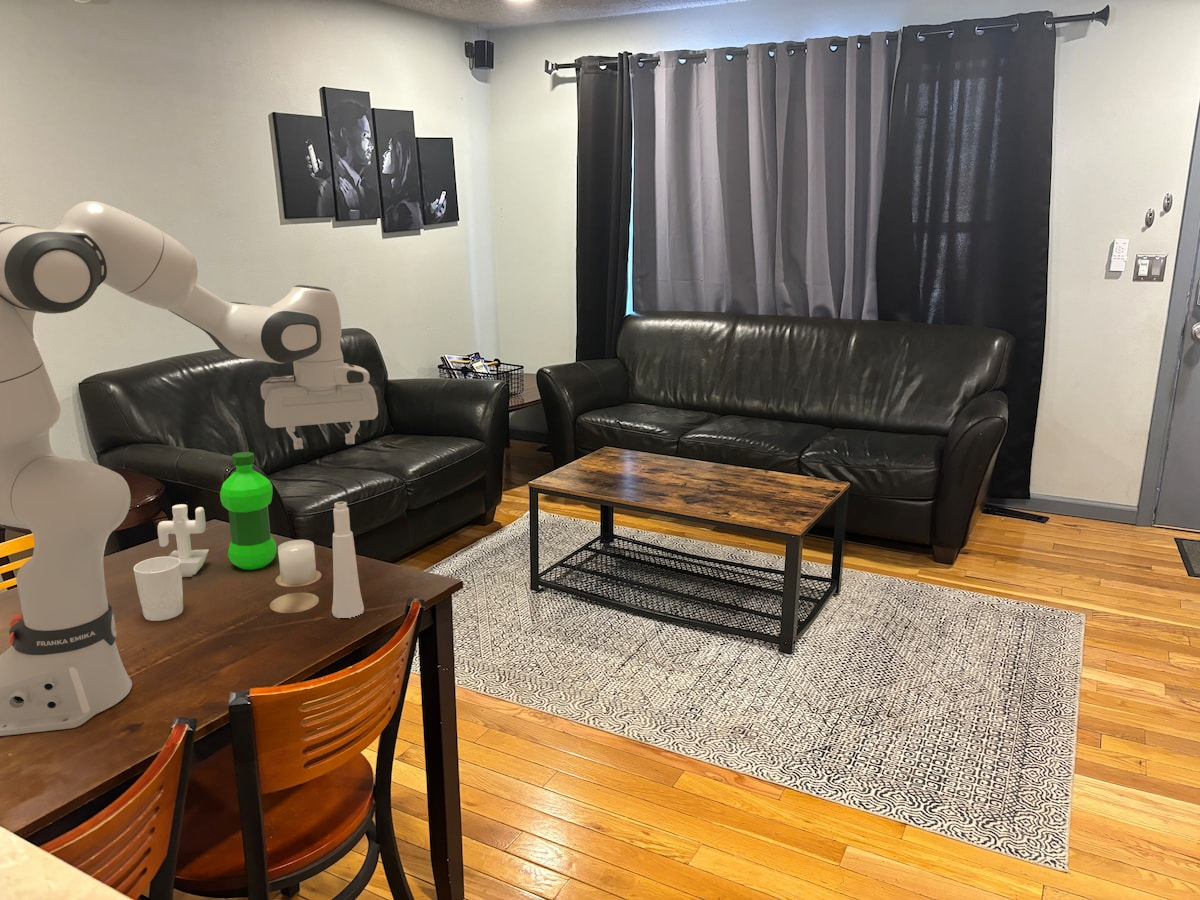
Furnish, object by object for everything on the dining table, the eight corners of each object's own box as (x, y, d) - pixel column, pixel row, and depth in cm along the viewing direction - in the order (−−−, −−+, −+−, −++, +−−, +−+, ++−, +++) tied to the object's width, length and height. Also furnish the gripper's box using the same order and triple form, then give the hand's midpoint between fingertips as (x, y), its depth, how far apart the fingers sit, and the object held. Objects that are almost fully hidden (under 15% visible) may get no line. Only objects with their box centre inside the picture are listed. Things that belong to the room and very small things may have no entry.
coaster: (277, 592, 172) (277, 589, 172) (274, 575, 180) (273, 572, 180) (324, 584, 176) (324, 582, 176) (318, 568, 184) (318, 566, 184)
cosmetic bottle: (339, 604, 168) (331, 497, 162) (369, 605, 167) (362, 498, 161) (326, 618, 162) (317, 507, 156) (357, 620, 161) (350, 509, 155)
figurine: (170, 566, 184) (161, 500, 180) (216, 565, 185) (208, 499, 181) (157, 580, 177) (148, 511, 173) (205, 578, 178) (197, 510, 174)
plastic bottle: (289, 560, 188) (279, 450, 181) (257, 579, 178) (245, 463, 172) (251, 554, 191) (240, 446, 184) (217, 572, 181) (204, 458, 174)
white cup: (168, 625, 158) (161, 574, 156) (130, 620, 160) (123, 570, 157) (195, 606, 166) (189, 558, 163) (159, 602, 167) (153, 554, 165)
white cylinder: (282, 586, 174) (279, 554, 172) (279, 573, 180) (276, 542, 178) (318, 581, 176) (315, 549, 174) (314, 568, 182) (311, 537, 181)
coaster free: (272, 619, 161) (271, 616, 161) (268, 599, 169) (268, 597, 169) (322, 610, 165) (321, 607, 165) (316, 592, 173) (315, 589, 172)
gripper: (261, 380, 152) (267, 455, 156) (377, 373, 161) (381, 444, 164) (257, 374, 157) (264, 447, 161) (371, 367, 166) (375, 436, 170)
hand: (324, 445), depth 163 cm, fingers open, 8 cm apart
